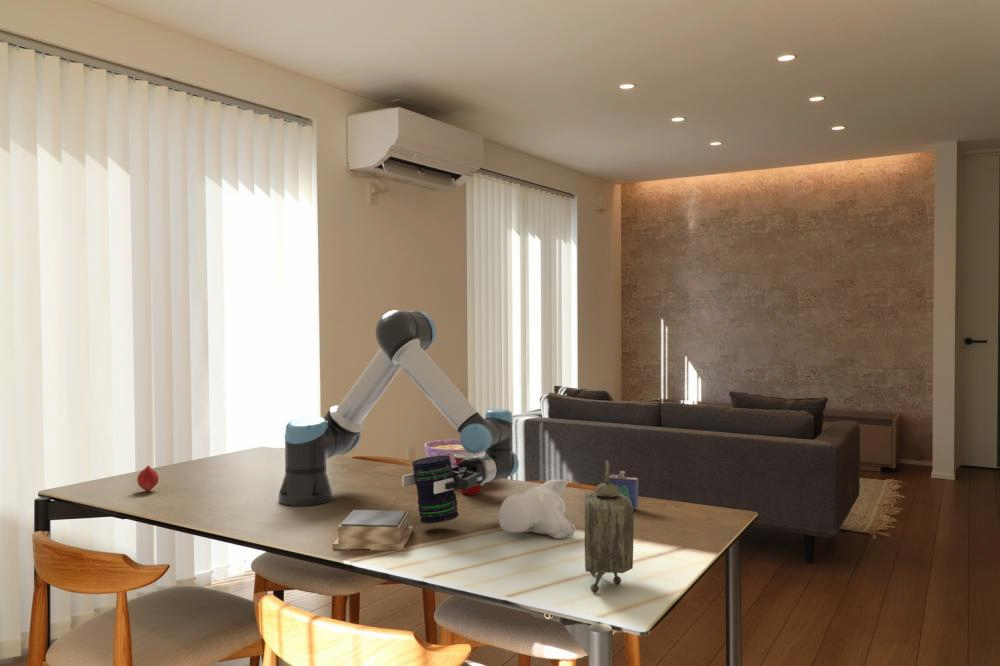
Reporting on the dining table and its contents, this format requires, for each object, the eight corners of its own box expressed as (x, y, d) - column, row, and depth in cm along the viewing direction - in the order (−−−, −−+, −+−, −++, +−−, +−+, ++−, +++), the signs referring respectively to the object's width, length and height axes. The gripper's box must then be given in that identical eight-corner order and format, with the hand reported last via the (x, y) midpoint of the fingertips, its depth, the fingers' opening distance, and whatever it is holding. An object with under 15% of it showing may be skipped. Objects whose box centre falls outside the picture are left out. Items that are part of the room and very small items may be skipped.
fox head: (561, 520, 173) (600, 497, 189) (504, 485, 181) (547, 467, 198) (544, 569, 177) (584, 542, 193) (489, 532, 185) (532, 510, 201)
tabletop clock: (584, 571, 160) (585, 453, 159) (627, 572, 159) (629, 455, 159) (585, 596, 146) (587, 467, 145) (633, 598, 145) (635, 468, 144)
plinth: (332, 549, 173) (332, 525, 173) (349, 529, 189) (349, 508, 189) (401, 550, 172) (402, 527, 172) (413, 531, 188) (413, 509, 188)
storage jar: (412, 522, 189) (403, 463, 190) (440, 512, 197) (432, 455, 197) (438, 524, 183) (429, 463, 183) (467, 513, 190) (458, 455, 190)
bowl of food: (488, 485, 241) (489, 449, 241) (426, 486, 238) (426, 450, 237) (480, 472, 261) (480, 439, 260) (422, 473, 257) (422, 440, 257)
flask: (638, 509, 212) (639, 471, 212) (636, 511, 210) (637, 473, 210) (606, 506, 216) (607, 468, 216) (604, 508, 213) (604, 470, 213)
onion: (132, 492, 225) (132, 465, 225) (148, 488, 231) (148, 462, 231) (147, 494, 223) (147, 467, 223) (162, 490, 228) (162, 464, 228)
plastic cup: (490, 489, 235) (490, 451, 234) (486, 497, 224) (486, 457, 224) (455, 488, 236) (456, 450, 235) (450, 496, 225) (450, 456, 225)
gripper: (509, 491, 196) (453, 507, 179) (444, 478, 210) (386, 492, 192) (509, 462, 196) (453, 476, 178) (444, 451, 210) (386, 463, 192)
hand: (418, 484), depth 185 cm, fingers closed on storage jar, 10 cm apart
